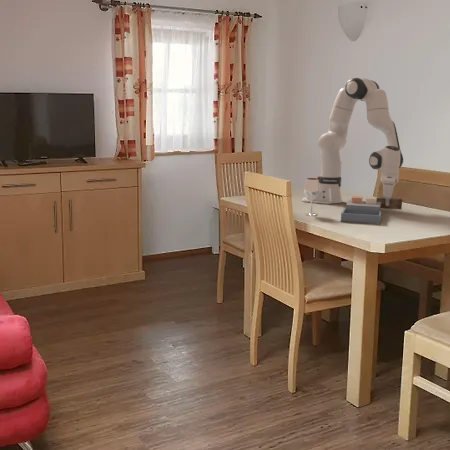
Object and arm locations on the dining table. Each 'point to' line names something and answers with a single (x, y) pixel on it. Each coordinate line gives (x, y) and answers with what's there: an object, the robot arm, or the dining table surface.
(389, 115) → the robot arm
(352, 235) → the dining table surface
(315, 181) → the wineglass
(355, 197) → the tile terracotta
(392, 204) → the scraper bar
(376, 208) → the grey flat block
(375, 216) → the box
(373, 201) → the tile cream
